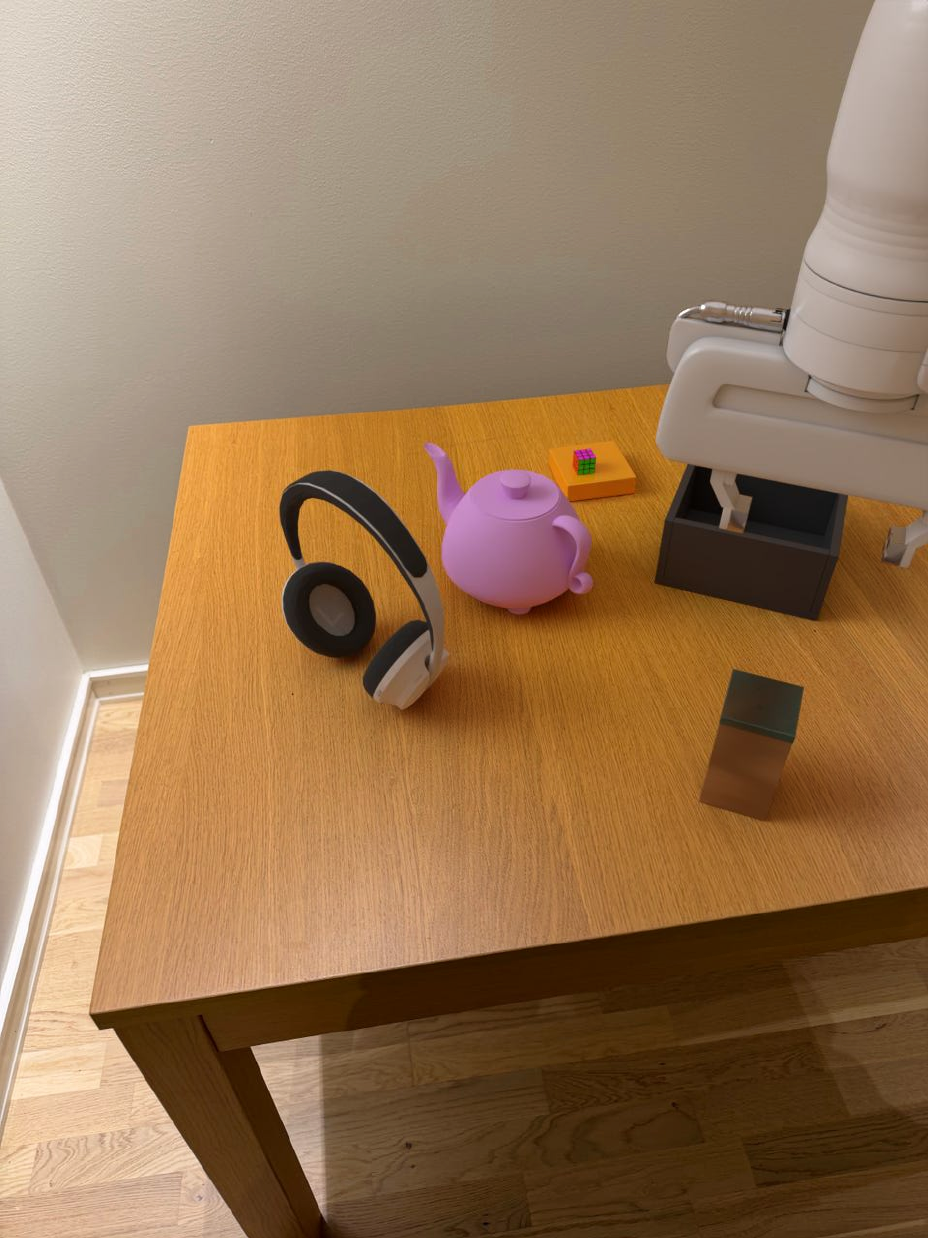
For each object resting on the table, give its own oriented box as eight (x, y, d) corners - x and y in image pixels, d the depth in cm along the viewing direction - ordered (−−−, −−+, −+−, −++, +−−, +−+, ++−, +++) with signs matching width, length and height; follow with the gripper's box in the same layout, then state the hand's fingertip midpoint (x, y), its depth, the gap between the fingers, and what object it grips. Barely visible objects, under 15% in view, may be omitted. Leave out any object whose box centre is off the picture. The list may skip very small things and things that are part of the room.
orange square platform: (547, 464, 105) (549, 432, 102) (612, 456, 106) (616, 424, 103) (566, 502, 99) (568, 470, 96) (634, 493, 100) (639, 461, 97)
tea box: (774, 772, 71) (804, 686, 64) (764, 822, 68) (795, 737, 61) (710, 753, 73) (732, 668, 66) (697, 801, 69) (720, 716, 62)
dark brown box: (830, 539, 93) (851, 476, 88) (816, 621, 84) (838, 556, 79) (682, 509, 98) (694, 447, 93) (654, 583, 89) (664, 519, 83)
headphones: (477, 698, 78) (476, 510, 64) (408, 753, 73) (390, 563, 60) (335, 600, 88) (308, 419, 74) (267, 643, 83) (224, 460, 70)
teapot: (386, 571, 91) (376, 470, 83) (473, 508, 99) (472, 410, 90) (545, 657, 81) (552, 552, 73) (628, 579, 89) (642, 477, 81)
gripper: (661, 317, 45) (630, 534, 55) (1116, 385, 39) (994, 615, 49) (686, 272, 50) (654, 481, 59) (1100, 328, 44) (991, 549, 53)
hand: (811, 542), depth 54 cm, fingers open, 8 cm apart
